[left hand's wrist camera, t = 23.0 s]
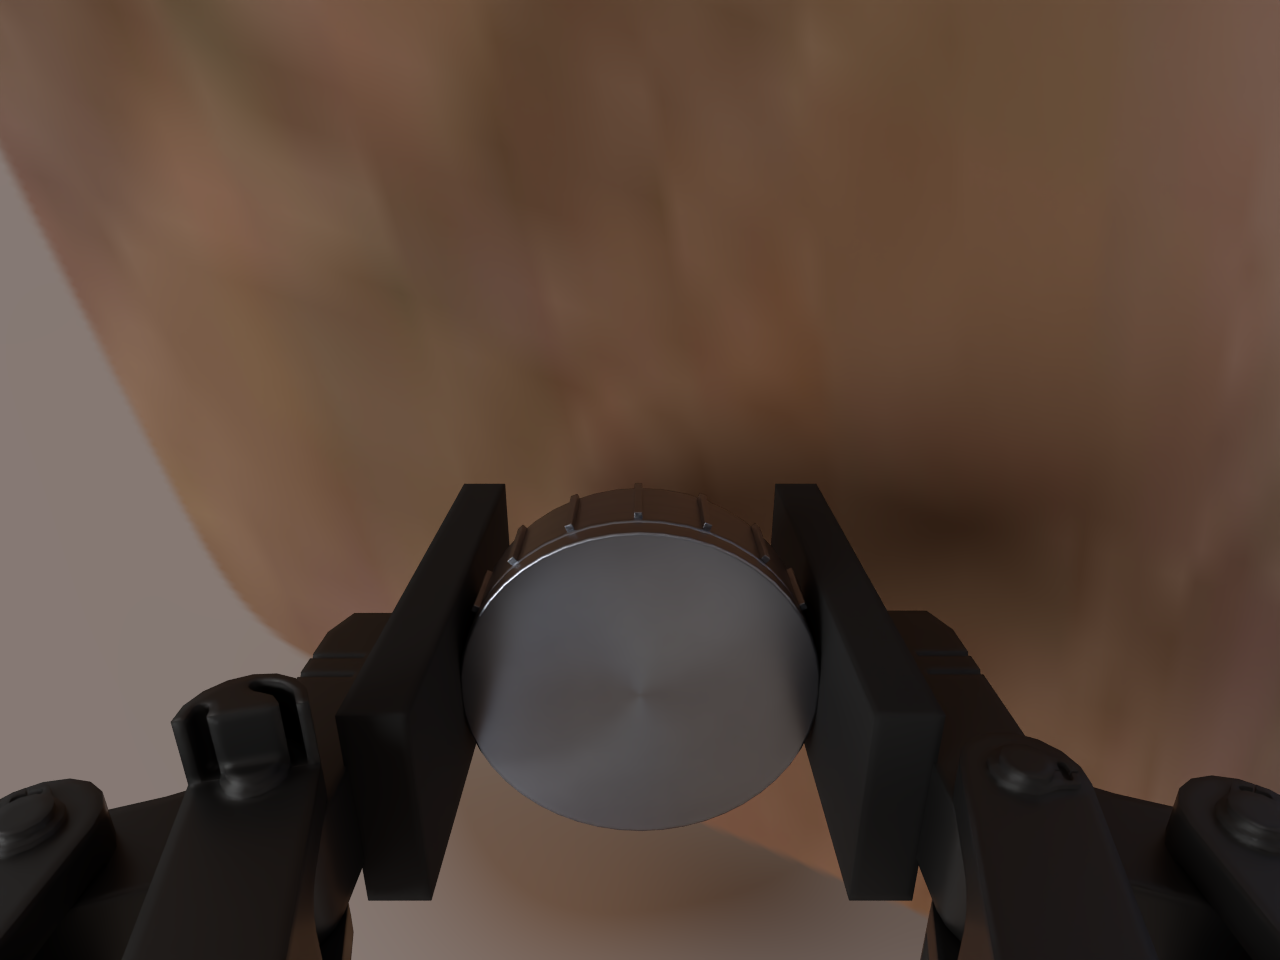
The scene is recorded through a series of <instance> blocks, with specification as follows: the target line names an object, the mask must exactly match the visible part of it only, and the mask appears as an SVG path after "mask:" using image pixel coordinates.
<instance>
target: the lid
mask: <svg viewBox="0 0 1280 960" xmlns="http://www.w3.org/2000/svg"><path fill="white" fill-rule="evenodd" d="M807 608H808V607H807V605H806V602H805V600H804V597H803V594H802V592H801V589H800V587H799V584H798V581H797V579H796V576H795V573H794V571H793V569H792V568H789V569H787V570H786V568H785V566H784V564H783V562H782V561H781V559H780V558H779V556H778V555H777V554H776V552H775V551H774V549H773V548H772V547H771V546H770V545H769V544H768V542H767V541H766V540H765V539H764V538H763V536H762V533H761V530H760V527H759V526H758V525H757V524H756V523H754V524H753V525H752V526H750V525H748V524H747V523H746V522H745V521H743V520H742V519H740V518H739V517H737V516H736V515H734V514H732V513H731V512H729V511H727V510H726V509H724V508H722V507H720V506H717V505H715V504H713V503H711V502H708V501H707V496H706V495H704V494H701V493H700V494H699V496H698V498H697V497H694V496H691V495H687V494H684V493H679V492H673V491H668V490H662V489H644V488H642V483H637V484H635V488H634V489H619V490H612V491H607V492H602V493H596V494H592V495H589V496H586V497H583V498H579V496H578V494H576V495H573V496H571V499H570V502H569V503H567V504H565V505H563V506H561V507H558V508H556V509H554V510H552V511H551V512H549V513H548V514H546V515H545V516H543V517H541V518H540V519H538V520H537V521H535V522H534V523H533V524H532V525H530V526H529V527H528V528H526V527H525V526H524V525H522V526H521V527H520V528H519V529H518V531H517V534H516V537H515V540H514V541H513V543H512V544H511V545H510V546H509V547H508V548H507V549H506V551H505V552H504V554H503V555H502V557H501V558H500V560H499V561H498V563H497V564H496V566H495V568H494V570H493V572H491V571H489V570H487V571H486V574H485V576H484V578H483V581H482V584H481V586H480V589H479V591H478V594H477V597H476V599H475V602H474V605H473V607H472V610H471V611H473V612H475V613H476V615H475V618H474V620H473V624H472V626H471V628H470V631H469V634H468V637H467V640H466V644H465V647H464V650H463V654H462V660H461V668H460V680H461V691H462V700H463V709H464V715H465V718H466V721H467V723H468V726H469V729H470V732H471V734H472V736H473V738H474V740H475V742H476V744H477V745H478V747H479V749H480V751H481V752H482V754H483V755H484V756H485V758H486V759H487V760H488V762H489V763H490V765H491V766H492V767H493V768H494V769H495V770H496V771H497V772H498V773H499V774H500V776H501V777H502V778H503V779H504V780H505V781H506V782H507V783H509V784H510V785H511V786H512V787H514V788H515V789H516V790H517V791H518V792H520V793H521V794H522V795H524V796H525V797H527V798H529V799H530V800H532V801H533V802H535V803H537V804H538V805H540V806H542V807H544V808H546V809H548V810H550V811H552V812H554V813H556V814H558V815H561V816H564V817H566V818H569V819H572V820H575V821H577V822H581V823H586V824H589V825H593V826H597V827H603V828H610V829H617V830H634V831H647V830H664V829H670V828H676V827H683V826H687V825H691V824H695V823H699V822H702V821H706V820H708V819H711V818H714V817H716V816H719V815H722V814H724V813H726V812H728V811H730V810H732V809H734V808H736V807H738V806H740V805H742V804H744V803H745V802H747V801H749V800H750V799H752V798H753V797H755V796H756V795H758V794H759V793H761V792H762V791H763V790H764V789H765V788H767V787H768V786H769V785H770V784H771V783H773V782H774V781H775V780H776V779H777V778H778V777H779V776H780V775H781V774H782V773H783V771H784V770H785V769H786V768H787V767H788V766H789V765H790V764H791V762H792V761H793V759H794V758H795V757H796V755H797V754H798V752H799V751H800V749H801V748H802V746H803V744H804V742H805V740H806V738H807V736H808V734H809V732H810V730H811V727H812V724H813V721H814V718H815V715H816V712H817V705H818V696H819V685H820V667H819V660H818V653H817V650H816V647H815V644H814V640H813V637H812V634H811V631H810V628H809V626H808V623H807V621H806V618H805V615H804V612H803V610H805V609H807Z"/></svg>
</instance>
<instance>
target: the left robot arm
mask: <svg viewBox="0 0 1280 960" xmlns="http://www.w3.org/2000/svg"><path fill="white" fill-rule="evenodd" d="M508 547H509V533H508V519H507V505H506V491H505V484H464V485H463V487H462V489H461V491H460V492H459V494H458V496H457V498H456V500H455V501H454V503H453V505H452V507H451V509H450V510H449V512H448V514H447V516H446V518H445V519H444V521H443V523H442V525H441V526H440V528H439V530H438V532H437V534H436V535H435V537H434V539H433V541H432V543H431V544H430V546H429V548H428V550H427V552H426V553H425V555H424V557H423V559H422V561H421V562H420V564H419V566H418V568H417V569H416V571H415V573H414V575H413V577H412V578H411V580H410V582H409V584H408V586H407V587H406V589H405V591H404V593H403V595H402V596H401V598H400V600H399V602H398V604H397V605H396V607H395V609H394V611H393V612H392V613H354V614H352V615H351V616H350V617H348V618H347V619H345V620H344V621H343V622H341V623H340V624H339V625H337V626H336V627H334V628H333V629H332V630H330V631H329V632H328V633H327V634H326V636H325V637H324V639H323V640H322V642H321V643H320V645H319V646H318V648H317V649H316V651H315V652H314V654H313V658H310V660H309V661H308V663H307V664H306V665H305V667H304V669H303V670H302V672H301V677H297V679H296V678H293V677H289V676H285V675H281V674H253V675H249V676H245V677H240V678H237V679H232V680H228V681H226V682H223V683H221V684H219V685H217V686H214V687H212V688H210V689H208V690H205V691H203V692H202V693H200V694H199V695H197V696H196V697H195V698H193V699H192V700H191V701H189V702H188V703H186V704H185V705H184V706H183V707H182V708H181V709H180V711H179V712H178V713H177V714H176V716H175V717H174V718H173V720H172V721H171V725H172V728H173V732H174V736H175V739H176V743H177V746H178V750H179V753H180V757H181V761H182V764H183V768H184V771H185V775H186V778H187V782H188V787H187V790H186V791H183V792H180V793H177V794H173V795H170V796H167V797H162V798H158V799H154V800H149V801H145V802H141V803H136V804H132V805H127V806H123V807H118V808H114V809H110V810H108V807H107V804H106V801H105V798H104V795H103V792H102V791H101V790H100V789H99V788H97V787H96V786H95V785H94V784H93V783H91V782H88V781H82V780H76V779H63V780H56V781H49V782H42V783H39V784H36V785H33V786H30V787H28V788H24V789H21V790H19V791H16V792H13V793H11V794H9V795H7V796H5V797H4V798H2V799H0V960H351V954H352V943H353V926H352V919H351V913H350V908H349V903H348V902H349V900H350V897H351V895H352V892H353V890H354V887H355V885H356V882H357V880H358V877H359V875H360V872H361V870H362V868H363V874H364V880H365V885H366V890H367V896H368V900H369V901H370V900H372V901H373V900H374V901H375V900H377V901H378V900H387V901H389V900H390V901H391V900H432V896H433V893H434V889H435V886H436V882H437V879H438V875H439V872H440V868H441V865H442V861H443V858H444V854H445V851H446V847H447V844H448V840H449V837H450V833H451V830H452V826H453V823H454V819H455V816H456V812H457V809H458V805H459V802H460V798H461V795H462V791H463V788H464V784H465V781H466V777H467V774H468V770H469V767H470V763H471V760H472V756H473V753H474V749H475V746H476V742H475V740H474V738H473V736H472V734H471V732H470V729H469V726H468V723H467V721H466V718H465V715H464V709H463V700H462V691H461V680H460V668H461V660H462V654H463V650H464V647H465V644H466V640H467V637H468V634H469V631H470V628H471V626H472V624H473V620H474V618H475V615H476V613H475V612H473V611H471V610H472V607H473V605H474V602H475V599H476V597H477V594H478V591H479V589H480V586H481V584H482V581H483V578H484V576H485V574H486V571H487V570H489V571H491V572H493V570H494V568H495V566H496V564H497V563H498V561H499V560H500V558H501V557H502V555H503V554H504V552H505V551H506V549H507V548H508ZM771 547H772V548H773V549H774V551H775V552H776V554H777V555H778V556H779V558H780V559H781V561H782V562H783V564H784V566H785V568H786V570H787V569H789V568H792V569H793V571H794V573H795V576H796V579H797V581H798V584H799V587H800V589H801V592H802V594H803V597H804V600H805V602H806V605H807V607H808V608H807V609H805V610H803V612H804V615H805V618H806V621H807V623H808V626H809V628H810V631H811V634H812V637H813V640H814V644H815V647H816V650H817V653H818V660H819V667H820V685H819V696H818V705H817V712H816V715H815V718H814V721H813V724H812V727H811V730H810V732H809V734H808V736H807V738H806V740H805V742H804V744H805V748H806V751H807V755H808V758H809V762H810V765H811V769H812V772H813V776H814V779H815V783H816V786H817V790H818V793H819V797H820V800H821V804H822V807H823V811H824V814H825V818H826V821H827V825H828V828H829V832H830V835H831V839H832V842H833V846H834V849H835V853H836V856H837V860H838V863H839V867H840V870H841V874H842V877H843V881H844V884H845V888H846V891H847V895H848V898H849V900H896V901H912V899H913V893H914V888H915V882H916V877H917V871H918V866H919V867H920V870H921V872H922V875H923V877H924V880H925V882H926V885H927V887H928V890H929V892H930V895H931V897H932V903H931V908H930V913H929V918H928V923H927V929H926V934H925V939H924V944H923V949H922V954H921V959H920V960H1280V795H1279V794H1277V793H1275V792H1273V791H1271V790H1269V789H1267V788H1264V787H1261V786H1258V785H1255V784H1252V783H1249V782H1246V781H1243V780H1240V779H1234V778H1227V777H1219V776H1205V777H1199V778H1192V779H1190V780H1189V781H1188V782H1187V783H1185V784H1184V785H1183V786H1182V787H1180V788H1179V791H1178V794H1177V797H1176V800H1175V803H1174V806H1173V807H1172V806H1167V805H1163V804H1159V803H1154V802H1150V801H1145V800H1141V799H1136V798H1132V797H1128V796H1123V795H1119V794H1115V793H1111V792H1108V791H1104V790H1101V789H1098V788H1094V787H1093V786H1092V784H1091V782H1090V780H1089V779H1088V777H1087V776H1086V774H1085V773H1084V771H1083V770H1082V768H1081V767H1080V766H1079V765H1078V764H1077V763H1075V762H1074V761H1073V760H1072V759H1070V758H1069V757H1068V756H1067V755H1066V754H1064V753H1063V752H1062V751H1060V750H1058V749H1056V748H1054V747H1052V746H1050V745H1048V744H1046V743H1044V742H1042V741H1040V740H1038V739H1034V738H1031V737H1027V736H1025V735H1024V734H1023V732H1022V731H1021V729H1020V728H1019V726H1018V725H1017V723H1016V722H1015V720H1014V719H1013V717H1012V716H1011V714H1010V713H1009V712H1008V710H1007V709H1006V707H1005V706H1004V704H1003V703H1002V701H1001V700H1000V698H999V697H998V695H997V694H996V692H995V691H994V689H993V688H992V686H991V685H990V684H989V682H988V681H987V679H986V678H985V676H984V675H983V674H980V669H979V667H978V666H977V664H976V663H975V661H974V660H973V658H972V657H971V656H968V651H967V650H966V648H965V647H964V645H963V644H962V642H961V641H960V639H959V638H958V636H957V635H956V633H955V632H954V630H953V629H951V628H950V627H949V626H947V625H946V624H944V623H943V622H942V621H940V620H939V619H937V618H936V617H935V616H933V615H932V614H930V613H929V612H928V611H887V610H886V608H885V606H884V604H883V603H882V601H881V599H880V597H879V595H878V594H877V592H876V590H875V588H874V586H873V585H872V583H871V581H870V579H869V578H868V576H867V574H866V572H865V570H864V569H863V567H862V565H861V563H860V561H859V560H858V558H857V556H856V554H855V552H854V551H853V549H852V547H851V545H850V543H849V542H848V540H847V538H846V536H845V535H844V533H843V531H842V529H841V527H840V526H839V524H838V522H837V520H836V518H835V517H834V515H833V513H832V511H831V509H830V508H829V506H828V504H827V502H826V501H825V499H824V497H823V495H822V493H821V492H820V490H819V488H818V486H817V484H775V497H774V511H773V526H772V540H771Z"/></svg>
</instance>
